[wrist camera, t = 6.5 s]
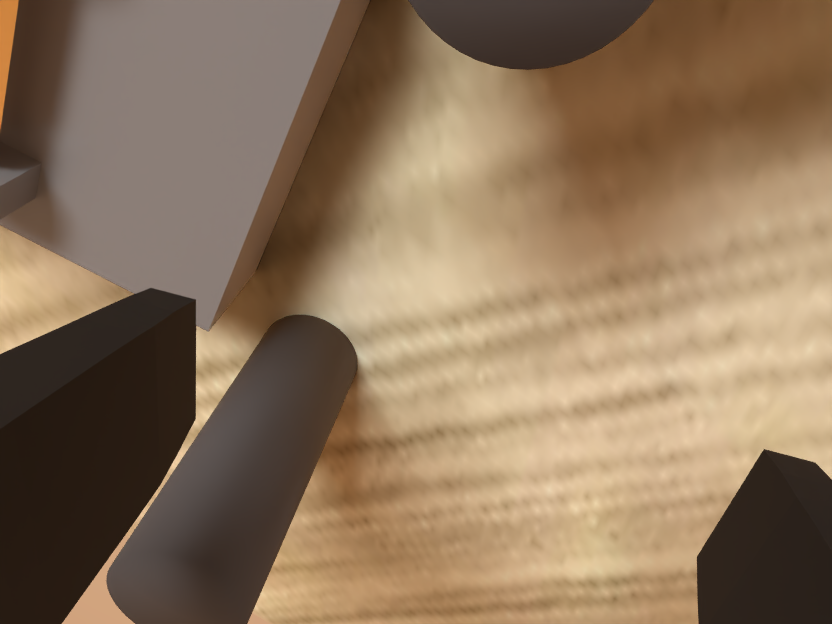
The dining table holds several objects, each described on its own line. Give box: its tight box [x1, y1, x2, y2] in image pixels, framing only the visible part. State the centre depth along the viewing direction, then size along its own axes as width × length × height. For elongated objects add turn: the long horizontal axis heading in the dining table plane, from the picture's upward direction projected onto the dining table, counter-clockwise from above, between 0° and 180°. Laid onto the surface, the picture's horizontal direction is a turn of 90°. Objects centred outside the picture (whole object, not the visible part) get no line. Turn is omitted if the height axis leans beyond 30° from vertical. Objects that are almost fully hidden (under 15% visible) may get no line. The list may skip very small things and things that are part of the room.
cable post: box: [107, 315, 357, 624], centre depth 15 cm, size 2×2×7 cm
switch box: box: [0, 0, 370, 331], centre depth 12 cm, size 9×8×4 cm
